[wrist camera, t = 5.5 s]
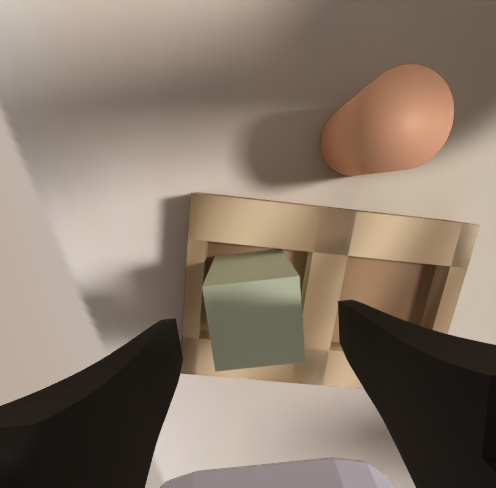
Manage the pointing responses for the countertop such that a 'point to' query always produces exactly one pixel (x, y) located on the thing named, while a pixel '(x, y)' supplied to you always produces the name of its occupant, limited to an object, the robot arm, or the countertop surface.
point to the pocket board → (325, 274)
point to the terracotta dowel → (390, 123)
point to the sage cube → (254, 310)
